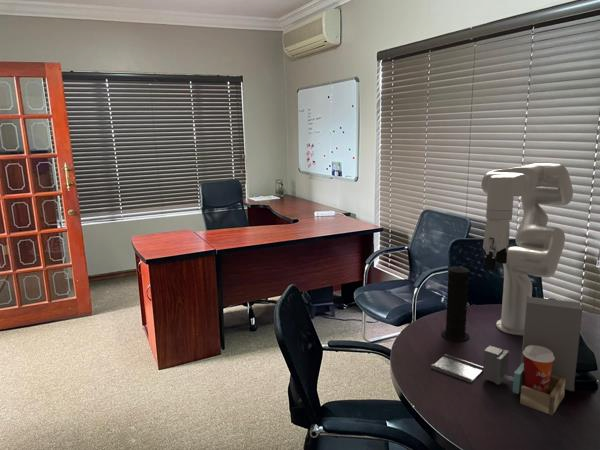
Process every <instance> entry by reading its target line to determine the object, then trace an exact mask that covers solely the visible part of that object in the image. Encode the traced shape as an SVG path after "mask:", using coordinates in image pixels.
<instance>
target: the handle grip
mask: <svg viewBox="0 0 600 450" xmlns="http://www.w3.org/2000/svg"><path fill="white" fill-rule="evenodd" d="M447 270H448V275H447V277H448V279H447V296H446V298H447V300H446V319H445V329H444V330H442V332H441V333H440V335H441V337H442V338H443V339H445V340H446V341H450V342H453V343H455V342H456V343H464V342H467V341H469V340H470V339H471V336H470V335H469V333H467V332H466V329H467V327H466V325H467V316H468V315H467V313H468V312H467V309H468V291H469V289H468V288H469V284H468V283H469V271H470V269H468V268H466V267H463V266H449V268H448V269H447Z"/></svg>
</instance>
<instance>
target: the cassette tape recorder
mask: <svg viewBox="0 0 600 450" xmlns="http://www.w3.org/2000/svg"><path fill="white" fill-rule="evenodd" d="M582 316H583V307H582V303H580V302H576V301H575V302H574V301H568V300H567V301H566V300H559V299H551V298H550V299H549V298H544V297H535V296H532V297H527V299H526V311H525V323H524V335H522V337H523V338H522V348H521V361H520V363H521V364H522V363H524V354H523V351H524V350H525V348H526V347H527V346H530V345H536V346H542V347H545V348H547V349H549V350H551V351H552V352H553V356H554V357H555V359H554V361H553V364H552V369H551V375H553V376H556V377H559V378H561V377H562V376H565V377H566V386H565V391H566V390H567V391H569V392H575V380H576V370H577V362H578V353H579V352H578V351H579V344H580V335H581V328H582V327H581V326H582ZM521 364H520V365H521Z"/></svg>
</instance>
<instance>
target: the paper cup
mask: <svg viewBox="0 0 600 450" xmlns="http://www.w3.org/2000/svg"><path fill="white" fill-rule="evenodd" d="M523 354H524V386H526V387H529V388H531V389H534V390H537V391H540V392H543V393H546V394H548V393H549V392H548V387H549V381H550V375H551V369H552V364H553V361H554V359H555V357H554V356H553V352H552V351H551V350H549V349H547V348H545V347H542V346H536V345H530V346H527V347H526V348H525V350H524V351H523Z"/></svg>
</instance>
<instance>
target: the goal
mask: <svg viewBox="0 0 600 450" xmlns="http://www.w3.org/2000/svg"><path fill="white" fill-rule="evenodd" d="M565 386H566V377H565V376H562V377H561V378H559V377H556V376H553V375H550V381H549V387H548V392H547V394H546V393H543V392H540V391H537V390H534V389H531V388H529V387H526V386H522V387H521V392H520V401H519V404H520V405H524V406H525V407H528V408H530V409H534V410H536V411H539V412H542V413H545V414H547V415H550V416H553V415H554V414H555V412H556V410H557V409H558V408H559V405H560V404H561V403H562V400H563V399H564V398H565V392H566V389H565ZM549 393H550V394H549Z"/></svg>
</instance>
